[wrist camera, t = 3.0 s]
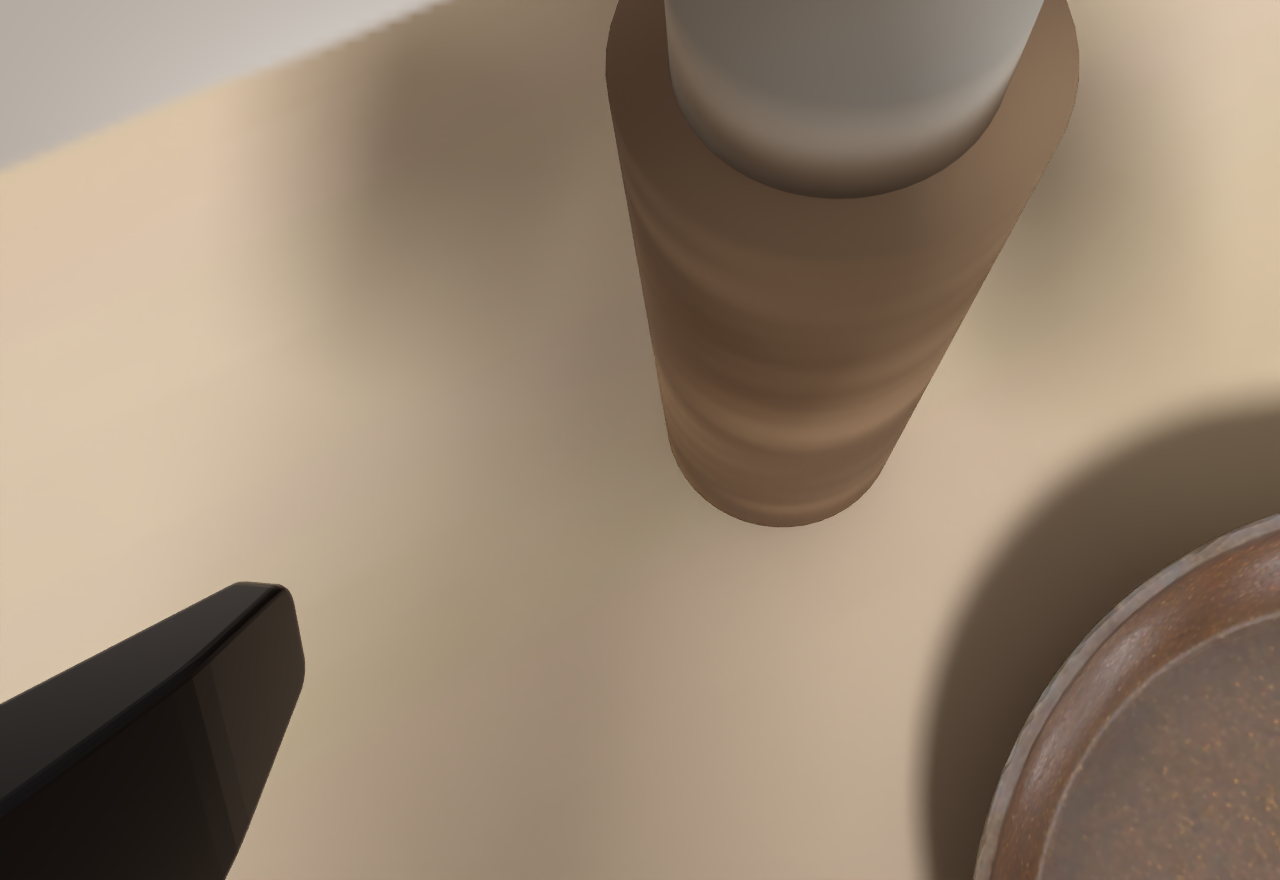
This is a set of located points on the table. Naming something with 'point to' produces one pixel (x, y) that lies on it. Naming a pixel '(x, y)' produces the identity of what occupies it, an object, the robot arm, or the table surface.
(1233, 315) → the table surface
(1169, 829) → the plant saucer
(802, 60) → the pepper mill
